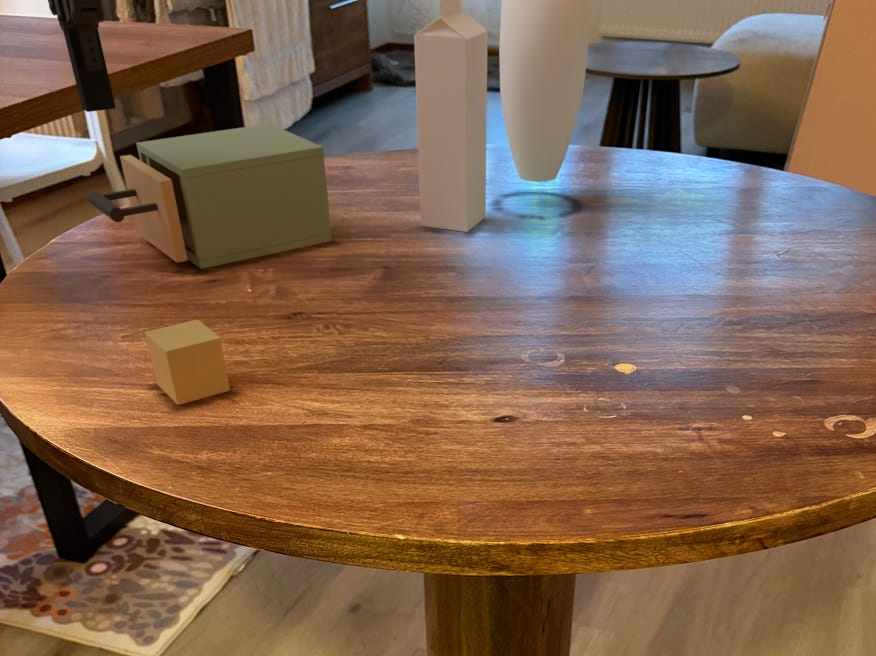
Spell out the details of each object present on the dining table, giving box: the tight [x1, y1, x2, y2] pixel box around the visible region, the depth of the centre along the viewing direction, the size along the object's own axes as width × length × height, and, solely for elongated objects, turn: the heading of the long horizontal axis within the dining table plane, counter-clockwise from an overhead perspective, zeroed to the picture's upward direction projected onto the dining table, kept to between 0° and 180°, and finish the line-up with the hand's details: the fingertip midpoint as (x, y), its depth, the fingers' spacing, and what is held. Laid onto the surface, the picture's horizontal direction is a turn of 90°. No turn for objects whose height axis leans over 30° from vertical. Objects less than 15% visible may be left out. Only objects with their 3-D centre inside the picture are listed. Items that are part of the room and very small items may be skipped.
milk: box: [413, 0, 488, 233], centre depth 101 cm, size 6×6×22 cm
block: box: [144, 319, 231, 406], centre depth 74 cm, size 4×4×4 cm
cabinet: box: [135, 123, 333, 270], centre depth 100 cm, size 16×13×10 cm
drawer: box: [87, 154, 195, 264], centre depth 97 cm, size 19×11×8 cm, turn 126°
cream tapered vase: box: [498, 0, 591, 183], centre depth 107 cm, size 10×10×22 cm
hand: (99, 108), depth 88 cm, fingers closed
